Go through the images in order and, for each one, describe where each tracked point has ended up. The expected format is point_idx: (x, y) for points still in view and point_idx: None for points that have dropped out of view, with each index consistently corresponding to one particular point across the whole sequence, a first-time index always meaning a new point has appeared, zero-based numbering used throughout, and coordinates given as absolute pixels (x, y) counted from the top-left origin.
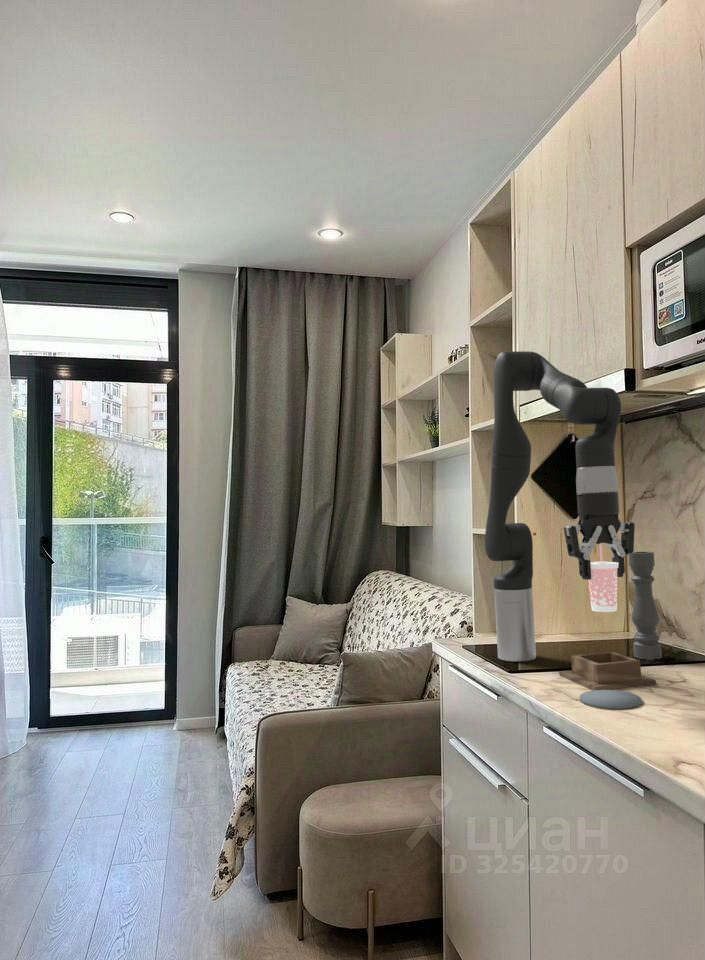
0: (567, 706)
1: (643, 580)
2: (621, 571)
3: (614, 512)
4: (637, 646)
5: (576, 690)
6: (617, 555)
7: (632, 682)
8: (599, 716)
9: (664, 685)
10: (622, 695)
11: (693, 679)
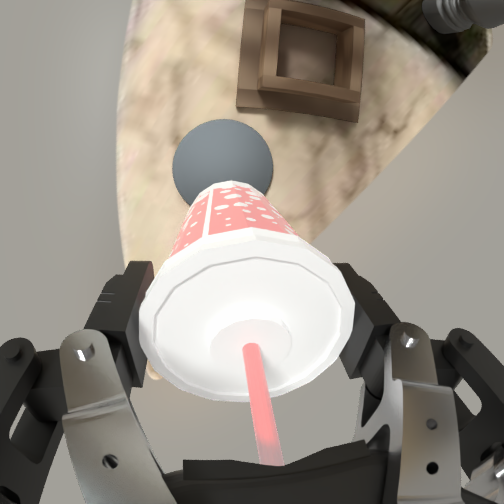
0: (142, 169)
1: None
2: None
3: None
4: (435, 6)
5: (209, 89)
6: (368, 374)
7: (315, 113)
8: (162, 229)
9: (359, 134)
10: (249, 166)
11: (412, 133)
